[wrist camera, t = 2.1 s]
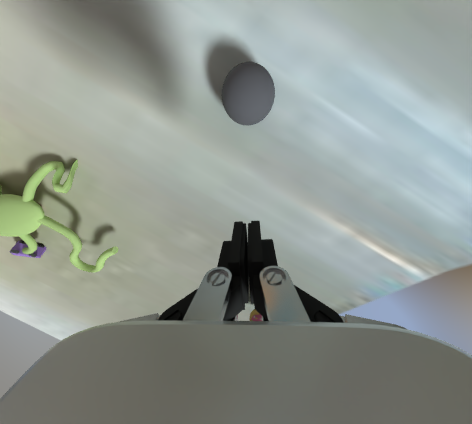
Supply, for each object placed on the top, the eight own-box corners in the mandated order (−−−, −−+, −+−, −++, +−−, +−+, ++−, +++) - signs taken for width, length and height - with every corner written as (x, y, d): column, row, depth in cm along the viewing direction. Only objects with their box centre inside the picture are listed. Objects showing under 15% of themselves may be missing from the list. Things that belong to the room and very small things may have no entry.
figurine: (136, 254, 35) (117, 276, 30) (19, 253, 37) (-17, 273, 32) (98, 157, 26) (62, 165, 21) (-49, 165, 29) (-111, 174, 24)
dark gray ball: (255, 57, 19) (256, 35, 14) (280, 105, 21) (289, 99, 16) (216, 93, 21) (205, 84, 16) (242, 134, 23) (240, 137, 18)
